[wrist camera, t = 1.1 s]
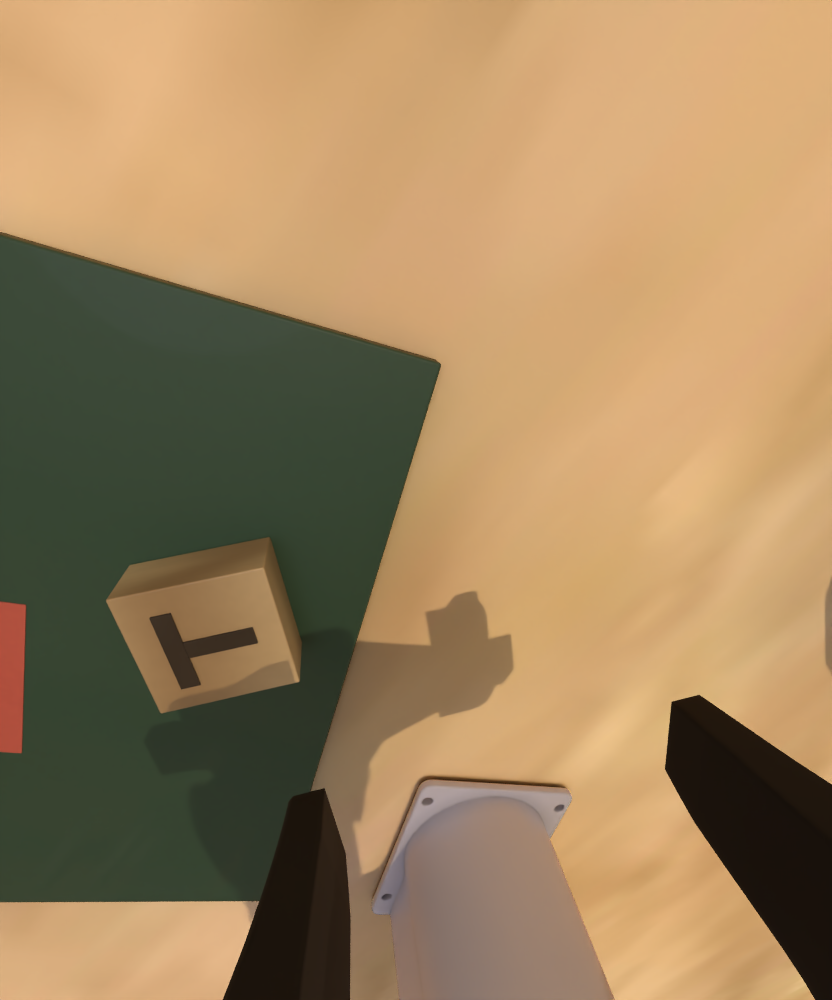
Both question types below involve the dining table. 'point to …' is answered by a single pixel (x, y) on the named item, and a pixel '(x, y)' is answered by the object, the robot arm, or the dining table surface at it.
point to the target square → (12, 675)
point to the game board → (170, 532)
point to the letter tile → (209, 624)
